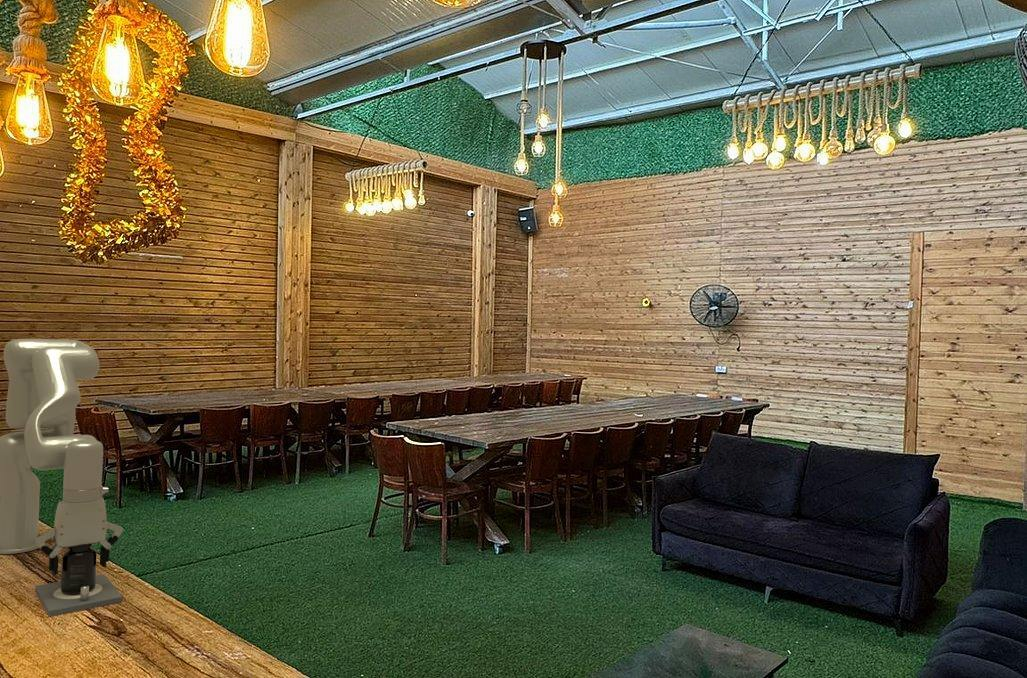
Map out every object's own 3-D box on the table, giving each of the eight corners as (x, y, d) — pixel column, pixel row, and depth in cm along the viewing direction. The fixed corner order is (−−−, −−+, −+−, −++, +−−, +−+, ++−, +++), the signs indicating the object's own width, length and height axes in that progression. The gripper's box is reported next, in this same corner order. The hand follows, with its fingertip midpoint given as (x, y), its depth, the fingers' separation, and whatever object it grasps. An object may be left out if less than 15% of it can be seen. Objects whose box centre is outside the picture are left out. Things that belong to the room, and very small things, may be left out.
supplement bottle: (102, 586, 164) (104, 535, 164) (81, 597, 157) (83, 543, 157) (74, 584, 165) (76, 533, 165) (53, 594, 158) (55, 541, 158)
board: (35, 590, 163) (35, 572, 163) (103, 578, 172) (104, 561, 172) (48, 616, 150) (49, 597, 150) (122, 602, 159) (122, 583, 159)
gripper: (120, 487, 169) (117, 558, 169) (34, 496, 158) (31, 571, 158) (128, 493, 164) (125, 566, 164) (39, 503, 152) (36, 581, 152)
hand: (79, 569), depth 161 cm, fingers open, 9 cm apart
